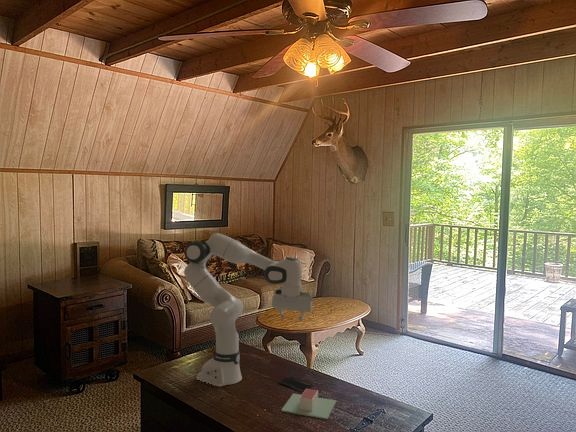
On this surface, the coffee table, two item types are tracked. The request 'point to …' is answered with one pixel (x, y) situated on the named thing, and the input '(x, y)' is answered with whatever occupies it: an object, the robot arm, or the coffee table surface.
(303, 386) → the phone
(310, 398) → the card case
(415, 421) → the coffee table surface
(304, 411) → the mat
